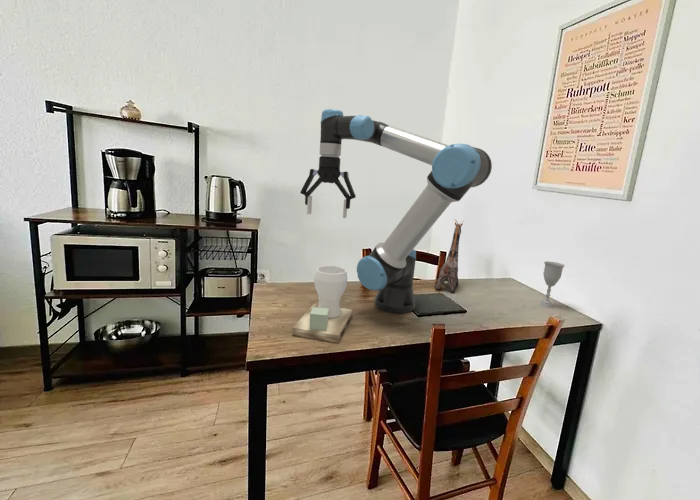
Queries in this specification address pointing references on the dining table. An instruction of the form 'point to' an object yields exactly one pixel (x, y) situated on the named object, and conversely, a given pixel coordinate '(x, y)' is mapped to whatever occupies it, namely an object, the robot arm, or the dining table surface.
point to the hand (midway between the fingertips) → (326, 215)
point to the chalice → (551, 279)
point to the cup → (330, 287)
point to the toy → (451, 263)
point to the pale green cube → (319, 319)
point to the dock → (333, 327)
